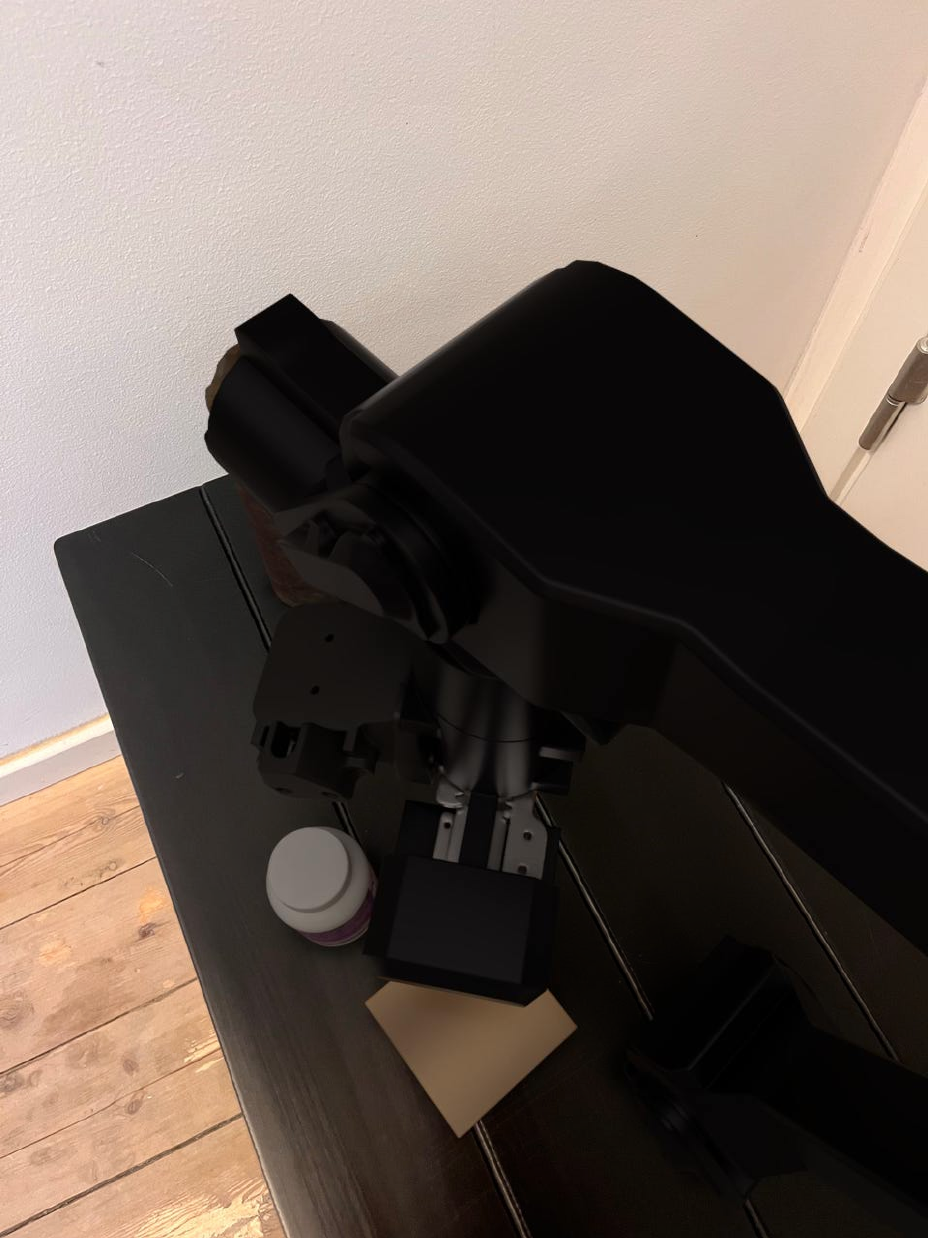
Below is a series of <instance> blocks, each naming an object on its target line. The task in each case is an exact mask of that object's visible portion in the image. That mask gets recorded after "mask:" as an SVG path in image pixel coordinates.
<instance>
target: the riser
mask: <svg viewBox="0 0 928 1238" xmlns="http://www.w3.org/2000/svg"><path fill="white" fill-rule="evenodd" d="M364 1004H365V1006H366V1007H367V1010H369V1012H370V1014H372V1016H373V1017H374V1019H375V1020H376V1023H378V1025H379V1026H380V1027H381V1029H382V1031H383V1032H384V1033H385V1034H386V1036H387V1038H388V1039H389V1040H390V1042H391V1043H392V1045H393V1046H394V1048H395V1049H396V1051H397V1052H398V1053H399V1055H400V1057H401V1058H402V1059H403V1060H404V1062H405V1064H406V1065H407V1066H408V1068H409V1069H410V1070H411V1072H412V1073H413V1075H414V1077H415V1078H416V1079H417V1081H418V1082H419V1084H420V1085H421V1086H422V1088H423V1089H424V1091H425V1093H426V1094H427V1095H428V1097H429V1098H430V1099H431V1101H432V1102H433V1104H434V1105H435V1107H436V1108H437V1109H438V1111H439V1112H440V1114H441V1115H442V1117H443V1118H444V1120H445V1121H446V1123H447V1124H448V1126H450V1128H451V1130H452V1131H453V1133H454V1134H455V1136H456V1137H457V1138H458V1139H461V1138H462V1137H463V1136H464V1135H465V1134H466V1133H467V1132H469V1131H470V1129H472V1128H473V1126H475V1125H476V1124H477V1123H478V1122H479V1121H480V1120H481V1119H482V1118H483V1117H484V1116H486V1114H488V1113H489V1112H490V1111H491V1110H492V1109H493V1108H494V1107H495V1106H496V1105H497V1104H499V1102H500V1101H502V1099H503V1098H505V1097H506V1096H507V1095H508V1094H509V1093H510V1092H511V1091H512V1090H513V1089H514V1088H516V1086H517V1085H519V1084H520V1083H521V1082H522V1081H523V1080H524V1079H525V1078H526V1077H527V1076H528V1075H529V1074H531V1072H532V1071H533V1070H534V1069H535V1068H537V1067H538V1066H539V1065H540V1064H541V1063H542V1062H543V1061H544V1060H546V1058H547V1057H548V1056H549V1055H551V1053H553V1052H554V1051H555V1050H556V1049H557V1048H558V1047H559V1046H560V1045H561V1044H562V1043H563V1042H564V1041H566V1040H567V1039H568V1038H569V1037H570V1036H571V1035H572V1034H573V1033H574V1032H575V1031H576V1030H577V1029H578V1025H577V1024H576V1022H574V1020H573V1019H572V1018H571V1016H570V1015H569V1014H568V1012H567V1011H566V1010H565V1009H564V1007H563V1006H562V1005H561V1003H560V1002H559V1001H558V999H557V998H556V997H555V996H554V995H553V994H552V992H551V991H550V990H549V988H548V987H547V991H546V992H545V993H543V994H542V995H541V996H539V997H538V998H537V999H535V1000H534V1001H533V1002H532V1003H530V1004H529V1005H528V1006H526V1007H524V1008H522V1007H517V1006H512V1005H507V1004H502V1003H497V1002H492V1001H487V1000H482V999H477V998H472V997H467V996H462V995H457V994H452V993H447V992H442V991H437V990H433V989H428V988H423V987H418V986H413V985H408V984H403V983H398V982H393V981H388V982H387V983H386V984H385V985H383V986H382V987H381V988H380V989H379V990H378V991H376V992H375V993H374V994H373V995H371V996H370V997H369V998H368V999H367V1000H366V1001H364Z"/></svg>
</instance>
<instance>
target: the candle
mask: <svg viewBox="0 0 928 1238" xmlns="http://www.w3.org/2000/svg"><path fill="white" fill-rule="evenodd" d="M241 356H242V354H241V351H240V348H239V345H238V342H237V343H235V344H234V345H232V346H231V347H229V348H228V349H227V350H226V352H225V353H224V354H223V356H222V357H221V358H220V359H219V361H218V362H217V364H216V369H215V371H214V374H213V377H212V380H211V381H210V384H209V385H208V386H206V387H205V390H204V400H205V406H206V409H207V411H208V415H209V414H210V410H211V406H212V402H213V399H214V397H215V395H216V393H217V391H218V389H219V387H220V385H221V383H222V381H223V379H224V378H225V376H226V375H227V374H228V372H229V371H230V370H231V368H232V367H233V365H234V364H235V363H236V361H237V360H238V359H239V358H240V357H241ZM232 479H233V478H232ZM233 482H234V485H235V488H236V491H237V494H238V496H239V499H240V501H241V504H242V507H243V509H244V512H245V514H246V517H247V518H246V519H247V521H248V523H249V527H250V528H251V531H252V534H253V537H254V540H255V543H256V545H257V548H258V551H259V554H260V557H261V560H262V563H263V566H264V568H265V571H266V574H267V576H268V578H269V579H268V580H269V582H270V584H271V587H272V589H273V591H274V593H275V595H276V596H277V597H278V599H279V600H281V601H282V602H283V603H284V604H286V605H288V606H289V607H291V608H293V607H295V606H297V605H301V604H350V603H348V602H346V601H344V600H341V599H339V598H337V597H335V596H332V595H330V594H328V593H326V592H324V591H321V590H319V589H317V588H315V587H312V586H310V585H308V584H306V583H305V582H304V581H303V579H302V578H301V576H300V575H299V573H298V572H297V570H296V569H295V568H294V566H293V565H292V563H291V562H290V560H289V559H288V557H287V556H286V555H285V553H284V552H283V550H282V549H281V547H280V546H279V544H278V543H277V542H278V541H279V540H281V539H282V538H283V537H285V536H284V535H283V533H282V532H281V531H280V530H279V528H278V527H277V525H276V524H275V522H274V520H273V518H272V517H271V516H270V515H269V514H268V513H267V512H266V511H265V510H264V509H263V508H262V507H261V506H260V505H259V504H258V503H257V502H256V501H255V500H254V499H253V498H252V497H251V496H250V495H249V494H248V493H247V492H246V491H245V490H244V489H243V488H242V487H241V486H240V485H239V484H238V483H237V482H236V481H235V480H234V479H233Z"/></svg>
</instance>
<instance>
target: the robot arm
mask: <svg viewBox="0 0 928 1238" xmlns="http://www.w3.org/2000/svg"><path fill="white" fill-rule="evenodd" d="M233 332H234V335H235V338H236V342H237V343H238V345H239V348H240V351H241V354H242V356H241V357H240V358H239V359H238V360H237V361H236V363H235V364H234V365H233V367H232V368H231V370H230V371H229V372H228V374H227V375H226V376H225V378H224V379H223V381H222V383H221V385H220V387H219V389H218V391H217V393H216V395H215V397H214V399H213V402H212V406H211V410H210V414H209V413H208V418H207V429H206V431H205V432H204V434H203V440H204V443H205V446H206V449H207V451H208V453H209V454H210V455H211V456H212V459H214V461H215V462H216V463H217V464H218V466H220V467H221V468H222V469H223V470H224V472H226V473H227V475H229V476H230V477H231V478H232V479H234V480H235V481H236V482H237V483H238V484H239V485H240V486H241V487H242V488H243V489H244V490H245V491H246V492H247V493H248V494H249V495H250V496H251V497H252V498H253V499H254V500H255V501H256V502H257V503H258V504H259V505H260V506H261V507H262V508H263V509H264V510H265V511H266V512H267V513H268V514H269V515H270V516H271V517H272V518H273V520H274V522H275V524H276V525H277V527H278V528H279V530H280V531H281V532H282V533H283V535H284V536H285V537H283V538H282V539H281V540H279V541H278V542H277V543H278V544H279V546H280V547H281V549H282V550H283V552H284V553H285V555H286V556H287V557H288V559H289V560H290V562H291V563H292V565H293V566H294V568H295V569H296V570H297V572H298V573H299V575H300V576H301V578H302V579H303V581H304V582H305V583H306V584H308V585H310V586H312V587H315V588H317V589H319V590H321V591H324V592H326V593H328V594H330V595H332V596H335V597H337V598H339V599H341V600H344V601H346V602H348V603H350V604H301V605H297V606H295V607H291V608H289V609H288V610H287V611H285V613H283V614H282V616H281V617H280V618H279V619H278V622H277V624H276V627H275V629H274V633H273V635H272V638H271V642H270V646H269V648H268V651H267V655H266V658H265V662H264V665H263V668H262V672H261V675H260V678H259V680H258V684H257V688H256V690H255V694H254V697H253V702H252V712H253V715H254V718H255V720H256V723H255V725H254V728H253V733H252V736H251V738H250V741H249V742H250V743H249V744H250V745H251V746H253V747H254V748H256V749H257V750H258V754H257V758H256V762H257V763H258V765H257V771H258V774H259V776H260V779H261V781H262V782H263V783H264V785H266V787H269V788H270V789H272V790H274V791H276V792H277V793H278V794H280V795H283V796H287V797H290V798H294V799H299V800H300V799H301V800H308V801H309V800H311V801H320V802H331V803H341V804H344V803H347V802H349V801H351V800H352V799H353V796H354V792H355V788H356V785H357V782H358V781H359V779H360V778H362V777H372V776H374V775H375V772H376V769H377V763H379V764H385V765H391V766H394V771H395V774H396V779H397V780H399V781H405V782H409V783H415V784H421V785H427V786H433V784H434V782H435V777H436V774H439V778H438V783H437V788H436V792H435V801H436V803H437V804H435V803H430V802H424V801H421V800H419V801H418V800H415V799H408V798H407V799H405V801H404V806H403V811H402V814H401V820H400V825H399V829H398V833H397V838H396V843H395V848H394V852H393V853H390V852H389V853H383V858H382V862H381V865H380V866H381V867H380V871H379V874H378V875H379V876H378V879H377V881H378V884H377V889H376V893H375V898H374V902H373V907H372V911H371V916H370V920H369V925H368V929H367V931H366V933H365V939H364V943H363V948H362V951H361V952H362V953H361V955H362V956H363V958H364V960H365V961H366V963H367V964H368V967H369V968H370V970H371V971H372V973H373V975H374V976H376V978H377V979H379V980H383V981H388V982H389V981H393V982H398V983H403V984H408V985H413V986H418V987H423V988H428V989H433V990H437V991H442V992H447V993H452V994H457V995H462V996H467V997H472V998H477V999H482V1000H487V1001H492V1002H497V1003H502V1004H507V1005H512V1006H517V1007H522V1008H524V1007H526V1006H528V1005H529V1004H530V1003H532V1002H533V1001H534V1000H535V999H537V998H538V997H539V996H541V995H542V994H543V993H545V992H546V991H547V988H548V984H549V977H550V969H551V961H552V954H553V948H554V947H553V946H554V939H555V932H556V925H557V924H556V923H557V916H558V909H559V901H560V894H561V886H559V885H557V884H555V877H556V870H557V862H558V858H559V857H558V855H559V849H560V842H561V841H560V840H561V833H562V828H561V827H560V826H555V825H549V824H543V822H541V820H539V819H537V818H536V817H535V816H534V814H533V810H532V808H533V809H534V807H533V801H534V795H535V791H538V792H540V793H545V794H551V795H556V796H562V797H568V794H569V792H570V789H571V782H572V776H573V768H574V763H578V764H581V763H582V761H583V759H584V757H585V754H586V747H587V746H586V745H587V739H588V740H589V741H590V742H591V743H593V744H594V745H595V746H599V747H600V746H601V747H603V746H606V745H608V744H609V743H610V742H611V741H612V740H613V739H614V738H615V737H616V736H617V735H618V734H619V733H620V732H622V731H623V730H624V728H626V726H628V725H631V726H637V727H643V728H649V729H651V730H654V731H655V732H657V733H658V734H659V735H661V737H663V738H664V739H666V740H668V741H669V742H670V743H672V744H673V745H674V746H675V747H677V748H678V749H680V750H681V751H682V752H683V753H684V754H686V755H687V756H689V757H690V758H691V759H693V760H694V761H696V762H697V763H698V764H699V765H701V766H702V767H703V768H704V769H706V770H707V771H708V772H709V773H710V774H712V775H713V776H714V777H715V778H716V779H717V780H719V781H720V782H721V783H722V784H724V785H725V786H726V787H727V788H728V789H729V790H731V791H732V793H734V794H735V795H736V796H738V797H739V799H741V800H742V801H743V802H744V803H746V804H747V805H748V806H749V807H750V808H752V810H754V811H755V812H756V813H757V814H759V815H760V816H761V817H762V818H763V819H764V820H765V821H767V822H768V823H769V824H771V825H772V826H773V827H774V828H775V829H776V830H777V831H779V832H780V833H781V834H782V835H783V836H784V837H786V838H787V839H788V840H789V841H791V842H792V843H793V844H794V845H795V846H796V847H797V848H798V849H800V850H801V851H802V852H803V853H804V854H806V855H807V856H808V857H809V858H810V859H812V860H813V861H814V862H815V863H816V864H817V865H819V867H821V868H822V869H823V870H825V871H826V872H827V873H828V874H829V875H831V876H832V877H833V878H834V879H835V880H836V881H837V882H838V883H840V884H841V885H842V886H843V887H844V888H846V889H847V890H848V891H849V892H850V893H852V895H854V896H855V897H856V898H857V899H858V900H859V901H861V902H862V903H863V904H864V905H865V906H867V907H868V908H869V910H871V911H872V912H874V913H875V914H876V915H877V916H879V917H880V918H881V919H882V920H883V921H884V922H885V923H887V924H888V925H889V926H890V927H891V928H893V929H894V930H895V932H897V933H898V934H899V935H901V936H902V937H903V938H904V939H905V940H906V941H908V942H909V943H910V944H911V945H912V946H914V947H915V948H916V949H917V950H918V951H920V952H921V953H922V954H923V955H924V956H925V957H927V958H928V570H926V569H925V568H923V567H922V566H920V565H918V564H917V563H916V562H915V561H912V560H911V559H909V558H907V557H906V556H905V555H903V554H901V553H900V552H898V551H897V550H895V549H894V548H893V547H891V546H890V545H889V544H887V543H886V542H884V541H883V540H881V539H880V538H879V537H877V536H876V534H874V533H873V532H872V531H870V529H869V528H867V527H865V526H864V525H863V524H861V523H860V522H859V521H858V520H857V519H856V518H854V517H853V516H852V515H851V514H850V513H848V512H847V511H846V510H845V509H844V508H843V507H841V506H840V505H839V504H838V503H836V502H835V501H834V500H833V499H832V498H830V496H829V494H828V493H827V490H826V489H825V486H824V484H823V482H822V480H821V478H820V476H819V474H818V471H817V469H816V467H815V465H814V463H813V460H812V458H811V456H810V453H809V452H808V450H807V447H806V445H805V443H804V440H803V438H802V437H801V434H800V432H799V430H798V427H797V426H796V423H795V421H794V418H793V416H792V414H791V413H790V410H789V407H788V406H787V403H786V401H785V399H784V397H783V395H782V393H781V392H780V390H779V389H778V387H777V386H776V385H774V384H773V383H772V382H771V381H770V380H769V379H768V378H767V377H765V375H763V374H761V373H760V372H759V371H758V370H757V369H755V368H754V367H753V366H752V365H750V364H749V363H748V362H747V361H746V360H744V359H743V358H741V356H739V355H738V354H737V353H736V352H734V351H733V350H731V349H730V348H729V347H727V346H726V344H724V343H723V342H721V341H720V340H719V339H718V338H716V337H715V336H714V335H712V334H711V333H710V332H709V331H708V330H707V329H706V328H704V327H703V326H701V325H700V324H699V323H698V322H696V321H695V320H694V319H693V318H691V317H690V316H689V315H688V314H687V313H685V312H684V311H683V310H681V309H680V308H679V307H678V306H676V305H675V304H674V303H672V302H671V301H670V300H669V299H667V297H665V296H664V295H663V294H661V293H660V292H659V291H657V290H656V289H654V288H653V287H651V286H650V285H649V284H647V283H646V282H644V281H643V280H641V279H640V278H638V277H636V276H634V275H632V274H630V273H628V272H625V271H623V270H620V269H618V268H615V267H613V266H610V265H608V264H606V263H603V262H602V261H601V262H600V261H597V260H584V259H575V260H573V261H571V262H569V263H568V264H567V265H565V266H564V267H558V268H555V269H553V270H552V271H550V272H548V273H546V274H544V275H542V276H540V277H539V278H537V279H534V280H533V281H532V282H531V283H529V284H528V285H526V286H525V287H523V288H522V289H520V290H519V291H518V292H516V293H515V294H514V295H512V296H510V297H509V298H508V299H507V300H505V301H504V302H502V303H501V304H499V305H498V306H497V307H496V308H494V309H492V310H491V311H490V312H488V313H487V314H485V315H484V316H482V317H481V318H480V319H479V320H477V321H475V322H474V323H473V324H471V325H470V326H468V327H467V328H466V329H465V330H462V331H461V332H460V333H459V334H457V335H456V336H454V337H453V338H452V339H451V340H449V341H447V342H446V343H445V344H443V345H442V346H440V347H439V348H438V349H436V350H435V351H433V352H432V353H431V354H429V355H427V356H426V357H425V358H422V360H420V361H419V362H418V363H416V364H415V365H414V366H412V367H411V368H410V369H408V370H407V371H405V372H403V373H402V374H400V375H398V374H397V372H395V371H394V370H393V369H391V367H390V366H388V365H387V364H386V363H385V362H384V361H382V360H381V359H380V358H379V357H378V356H376V354H374V353H373V352H372V351H371V350H370V349H368V348H367V347H366V346H365V345H364V344H363V343H362V342H360V341H359V340H358V339H356V337H354V336H353V335H352V334H351V333H350V332H349V331H348V330H346V329H345V328H343V327H342V326H341V325H339V324H337V323H336V322H335V321H333V320H328V319H323V318H320V317H319V316H318V315H316V313H314V311H312V310H311V309H310V308H309V307H308V306H307V305H306V304H305V303H303V302H302V301H301V300H300V299H299V298H297V297H296V296H295V295H294V294H292V292H291V293H287V294H286V295H284V296H283V297H282V298H280V299H278V300H277V301H275V302H274V303H272V304H270V305H269V306H267V307H266V308H264V309H262V310H261V311H259V312H258V313H256V314H255V315H253V316H251V317H250V318H248V319H247V320H245V321H243V322H242V323H240V324H239V325H237V326H236V327H234V328H233ZM234 480H233V481H234ZM290 746H291V748H290ZM289 748H290V752H289ZM288 752H289V754H288ZM458 787H460V788H462V789H464V790H466V791H468V792H471V794H470V800H469V805H466V804H463V802H462V801H460V800H458V799H457V797H463V796H464V795H465V791H463V790H461V789H460V788H458ZM505 797H512V798H514V799H509V800H505V805H506V806H507V807H509V808H511V810H505V811H498V810H497V806H498V800H499V798H505ZM625 1051H626V1053H625V1054H626V1058H625V1059H624V1060H623V1061H622V1064H621V1071H622V1073H623V1075H624V1076H625V1077H626V1079H627V1080H628V1081H629V1083H630V1084H631V1090H632V1092H633V1097H634V1100H635V1103H636V1106H637V1107H638V1111H639V1112H640V1114H641V1116H642V1117H643V1118H644V1119H645V1123H646V1125H645V1126H646V1129H647V1130H648V1132H649V1133H650V1134H651V1137H653V1139H654V1140H655V1142H656V1143H657V1145H658V1146H659V1147H660V1149H661V1155H662V1158H663V1160H665V1161H666V1162H667V1164H668V1165H669V1166H670V1167H671V1168H672V1169H674V1170H675V1171H677V1172H691V1173H692V1174H693V1175H694V1176H695V1177H696V1178H697V1179H698V1180H699V1181H700V1182H701V1183H702V1184H703V1185H704V1187H706V1188H707V1190H708V1191H709V1192H710V1193H711V1194H712V1195H713V1196H714V1197H715V1198H716V1199H717V1200H718V1201H720V1200H721V1199H723V1201H725V1202H726V1203H727V1204H728V1205H729V1206H731V1207H732V1208H733V1209H734V1210H735V1211H736V1212H740V1210H741V1209H742V1207H743V1206H745V1204H746V1203H747V1201H748V1200H749V1198H750V1197H751V1196H752V1195H753V1193H754V1192H755V1191H756V1189H757V1188H758V1187H759V1186H760V1184H761V1183H762V1182H763V1181H764V1179H767V1178H772V1177H779V1176H785V1175H791V1174H798V1173H804V1172H810V1173H811V1174H813V1175H815V1176H816V1177H818V1178H819V1179H821V1180H822V1181H824V1182H825V1183H826V1184H828V1185H830V1186H831V1187H832V1188H833V1189H834V1190H836V1191H838V1192H839V1193H840V1194H842V1195H843V1196H845V1197H846V1198H847V1199H849V1200H850V1201H851V1202H853V1203H855V1204H856V1205H858V1206H859V1207H861V1208H862V1209H863V1210H865V1211H866V1212H868V1213H869V1214H871V1215H872V1216H873V1217H875V1218H876V1219H877V1220H879V1222H880V1221H881V1222H882V1223H883V1224H884V1225H886V1226H887V1227H888V1228H890V1229H892V1230H893V1231H894V1232H896V1233H897V1234H898V1235H900V1236H901V1237H903V1238H928V1074H927V1073H925V1072H923V1071H920V1070H918V1069H917V1068H915V1067H912V1066H910V1065H908V1064H905V1063H904V1062H901V1061H899V1060H896V1059H894V1058H892V1057H890V1056H888V1055H885V1054H883V1053H882V1052H881V1053H880V1052H879V1051H876V1050H874V1049H872V1048H870V1047H867V1046H866V1045H863V1044H861V1043H859V1042H857V1041H855V1040H852V1039H850V1038H848V1037H847V1036H846V1035H845V1034H844V1033H843V1032H842V1030H841V1029H840V1028H839V1026H838V1025H837V1024H836V1023H835V1022H834V1021H833V1019H832V1018H831V1017H830V1016H829V1015H828V1013H827V1012H826V1010H825V1009H824V1008H823V1005H822V1004H821V1002H820V1000H819V998H818V997H817V995H816V994H815V992H814V990H813V989H812V988H811V986H810V985H809V984H808V983H807V982H806V981H805V979H804V978H803V977H802V976H801V975H800V974H799V973H798V972H797V971H796V970H795V969H794V968H793V967H792V966H791V965H789V964H788V963H787V962H785V960H783V959H782V958H780V957H779V956H778V955H776V954H775V953H774V952H772V951H771V950H769V949H767V948H764V947H761V946H759V945H753V946H751V945H749V944H747V943H745V942H743V941H741V940H739V939H737V938H736V937H734V936H733V935H731V934H730V933H727V934H725V936H723V938H722V939H721V940H720V941H719V942H718V944H717V945H716V946H715V947H714V948H713V949H712V950H711V951H710V952H709V954H708V955H707V956H706V957H705V958H704V959H703V960H702V962H700V964H699V965H698V966H697V967H696V968H695V969H694V971H693V972H692V973H691V974H690V975H689V976H688V977H687V978H686V980H685V981H684V982H683V983H682V984H681V986H680V987H679V988H677V990H676V991H675V992H674V994H673V995H671V997H670V998H669V999H668V1000H667V1001H666V1002H665V1003H664V1005H663V1006H662V1007H661V1008H660V1009H659V1011H657V1012H656V1013H655V1015H654V1016H653V1017H652V1018H651V1019H650V1021H649V1022H648V1023H647V1024H646V1025H645V1026H644V1027H643V1029H642V1030H641V1031H640V1032H639V1033H638V1034H637V1035H636V1036H635V1037H634V1038H633V1040H632V1041H631V1042H630V1043H629V1045H628V1047H627V1048H626V1050H625ZM630 1064H632V1065H633V1066H634V1067H635V1070H634V1072H630V1071H629V1068H628V1067H629V1065H630Z"/></svg>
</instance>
